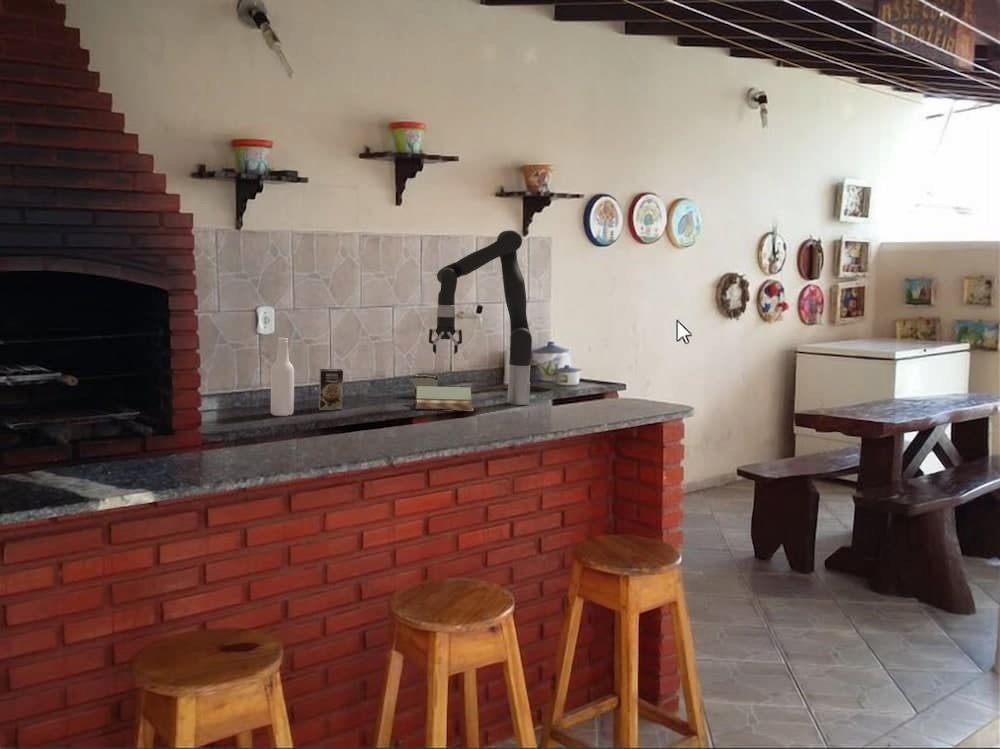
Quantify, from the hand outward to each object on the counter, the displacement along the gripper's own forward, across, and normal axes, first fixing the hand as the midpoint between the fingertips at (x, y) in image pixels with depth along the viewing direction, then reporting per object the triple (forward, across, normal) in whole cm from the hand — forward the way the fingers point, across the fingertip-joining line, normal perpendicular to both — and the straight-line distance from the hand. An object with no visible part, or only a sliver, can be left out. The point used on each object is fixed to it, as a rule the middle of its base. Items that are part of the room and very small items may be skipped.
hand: (445, 353), depth 401 cm
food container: (+22, +7, -18) cm, 29 cm away
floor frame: (+22, 0, +6) cm, 23 cm away
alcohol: (+21, +64, +30) cm, 74 cm away
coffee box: (+22, +46, +17) cm, 54 cm away
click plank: (+18, 0, +2) cm, 19 cm away
